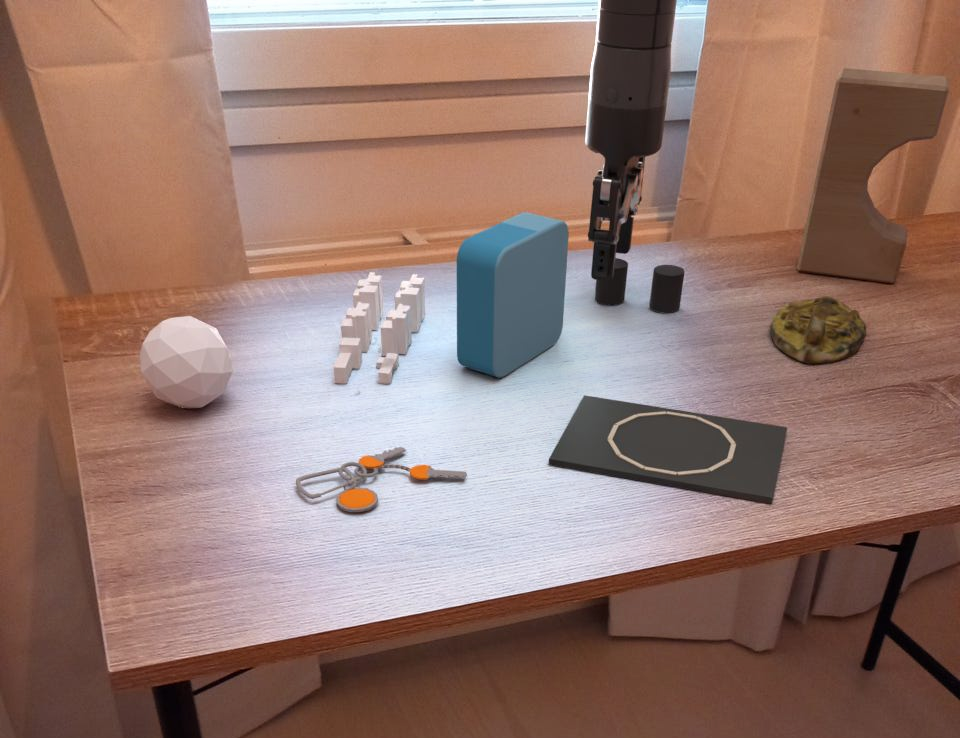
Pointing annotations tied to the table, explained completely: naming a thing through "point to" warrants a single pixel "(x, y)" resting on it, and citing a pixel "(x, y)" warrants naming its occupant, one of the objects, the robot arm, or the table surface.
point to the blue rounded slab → (510, 292)
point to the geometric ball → (185, 362)
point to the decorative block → (865, 171)
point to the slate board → (673, 448)
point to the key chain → (365, 497)
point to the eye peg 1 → (613, 286)
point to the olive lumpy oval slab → (818, 330)
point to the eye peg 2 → (666, 288)
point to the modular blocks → (367, 319)
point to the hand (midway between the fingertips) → (610, 265)
